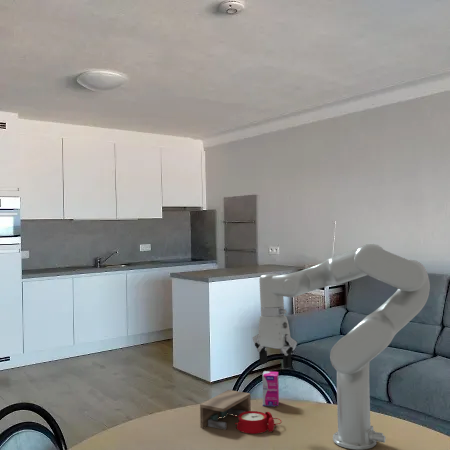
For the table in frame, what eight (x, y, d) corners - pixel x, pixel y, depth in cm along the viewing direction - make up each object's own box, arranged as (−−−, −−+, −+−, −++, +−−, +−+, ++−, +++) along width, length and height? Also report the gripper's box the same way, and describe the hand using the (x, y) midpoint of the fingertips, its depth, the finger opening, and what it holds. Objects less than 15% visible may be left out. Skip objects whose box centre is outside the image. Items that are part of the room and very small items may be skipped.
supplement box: (262, 406, 177) (261, 375, 178) (263, 401, 183) (263, 370, 184) (278, 407, 176) (277, 375, 177) (279, 401, 182) (278, 371, 183)
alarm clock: (232, 412, 162) (275, 400, 163) (236, 430, 162) (279, 419, 162) (234, 423, 152) (280, 411, 152) (238, 443, 151) (284, 430, 152)
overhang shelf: (250, 415, 168) (250, 393, 169) (223, 432, 153) (223, 408, 153) (228, 411, 173) (228, 389, 173) (200, 427, 158) (200, 404, 158)
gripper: (301, 312, 153) (304, 366, 152) (259, 309, 165) (262, 360, 164) (287, 315, 148) (290, 371, 147) (245, 312, 160) (247, 364, 159)
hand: (275, 365), depth 155 cm, fingers open, 9 cm apart
